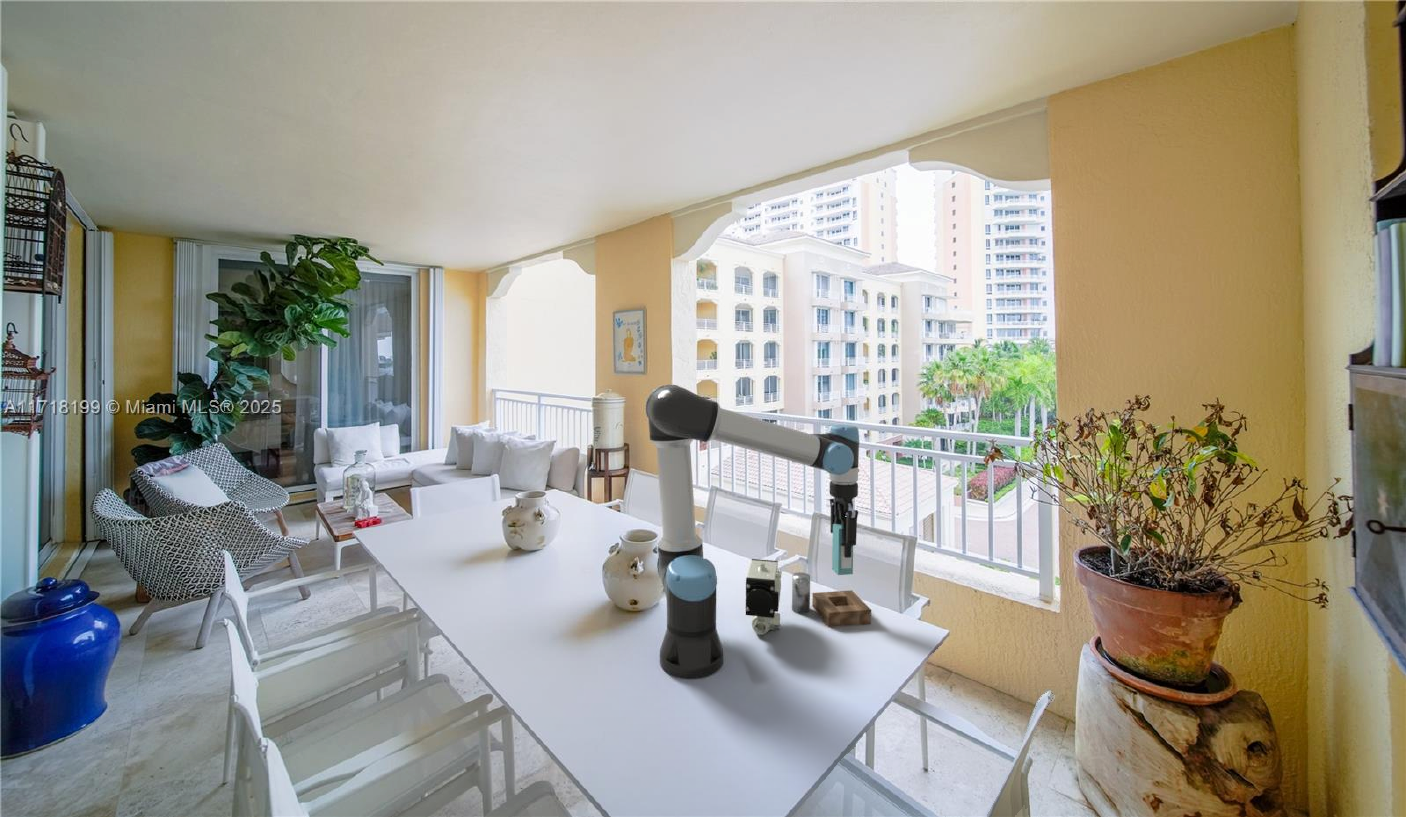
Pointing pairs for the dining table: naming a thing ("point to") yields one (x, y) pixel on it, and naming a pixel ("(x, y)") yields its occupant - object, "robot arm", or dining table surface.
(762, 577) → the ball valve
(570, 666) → the dining table surface
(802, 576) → the round bit
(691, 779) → the dining table surface
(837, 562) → the square bit
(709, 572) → the robot arm
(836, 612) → the bore block
